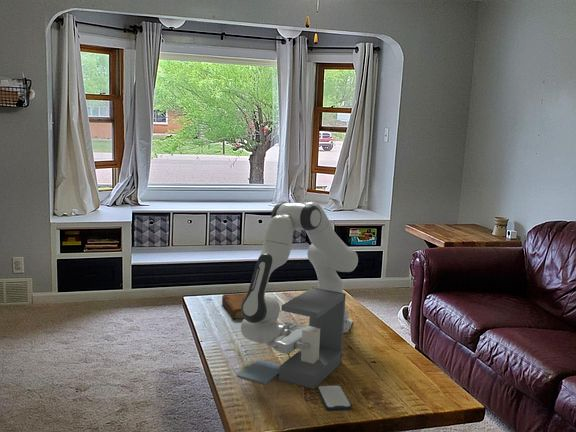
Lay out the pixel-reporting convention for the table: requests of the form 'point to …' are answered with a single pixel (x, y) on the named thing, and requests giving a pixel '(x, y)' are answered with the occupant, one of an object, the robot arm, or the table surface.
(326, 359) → the grey c-shaped bracket
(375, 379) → the table surface
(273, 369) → the mat
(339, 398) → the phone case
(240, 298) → the diary
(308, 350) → the block
